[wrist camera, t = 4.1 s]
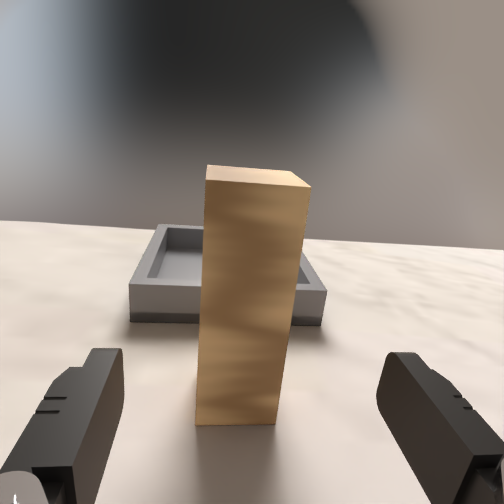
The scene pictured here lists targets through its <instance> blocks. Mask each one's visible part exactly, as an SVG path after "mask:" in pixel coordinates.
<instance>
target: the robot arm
mask: <svg viewBox="0 0 504 504" xmlns="http://www.w3.org/2000/svg"><path fill="white" fill-rule="evenodd" d="M376 399H377V405H378V409H379V411H380V413H381V415H382V417H383V419H384V421H385V422H386V424H387V426H388V428H389V429H390V431H391V433H392V435H393V437H394V438H395V440H396V442H397V444H398V445H399V447H400V449H401V451H402V453H403V454H404V456H405V458H406V460H407V461H408V463H409V465H410V467H411V469H412V470H413V472H414V474H415V476H416V477H417V479H418V481H419V483H420V485H421V486H422V488H423V490H424V492H425V493H426V495H427V497H428V499H429V500H430V502H431V504H504V442H503V441H502V439H501V438H500V437H499V436H498V435H497V434H496V433H495V432H494V430H493V429H492V428H491V427H490V426H489V425H488V424H487V423H486V421H485V420H484V419H483V418H482V417H481V416H480V415H479V414H478V413H477V411H476V410H473V408H472V406H471V405H470V404H469V402H468V401H467V400H466V399H465V398H462V395H461V393H460V392H459V391H458V390H457V389H456V388H455V387H454V386H453V384H452V383H451V382H450V381H449V380H447V379H446V378H444V377H443V376H442V375H440V374H439V373H437V372H436V371H434V370H433V369H430V368H429V367H428V366H427V365H426V364H425V362H424V361H423V360H422V359H421V358H420V357H419V355H418V354H416V353H412V352H390V353H389V354H388V355H387V357H386V360H385V363H384V367H383V370H382V374H381V377H380V381H379V385H378V388H377V393H376ZM123 403H124V373H123V353H122V349H121V348H93V349H92V350H91V352H90V353H89V355H88V357H87V359H86V361H85V363H84V365H83V367H69V368H68V369H67V370H66V371H64V372H63V373H62V374H61V375H60V376H58V377H57V378H56V379H55V380H54V381H53V382H52V384H51V386H50V387H49V389H48V391H47V392H46V394H45V396H44V399H43V400H42V401H41V402H40V404H39V406H38V408H37V409H36V412H35V414H33V416H32V418H31V419H30V421H29V423H28V424H27V426H26V428H25V429H24V431H23V433H22V434H21V436H20V438H19V439H18V441H17V443H16V444H15V446H14V448H13V449H12V451H11V453H10V454H9V456H8V458H7V460H6V461H5V463H4V465H3V466H2V468H1V470H0V504H94V503H95V500H96V497H97V493H98V490H99V487H100V483H101V480H102V477H103V474H104V470H105V467H106V464H107V460H108V457H109V454H110V450H111V447H112V444H113V441H114V437H115V434H116V431H117V427H118V424H119V421H120V417H121V414H122V409H123Z"/></svg>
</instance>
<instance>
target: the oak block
mask: <svg viewBox="0 0 504 504" xmlns="http://www.w3.org/2000/svg"><path fill="white" fill-rule="evenodd" d="M310 193H311V187H310V186H309V185H308V184H306V183H305V182H304V181H302V180H301V179H300V178H298V177H297V176H296V175H294V174H293V173H292V172H290V171H279V170H266V169H253V168H241V167H227V166H216V165H208V166H207V174H206V186H205V209H204V231H203V254H202V278H201V301H200V324H199V347H198V371H197V394H196V417H195V426H199V425H265V424H276V417H277V410H278V404H279V397H280V391H281V384H282V378H283V371H284V364H285V358H286V351H287V345H288V338H289V331H290V325H291V318H292V312H293V305H294V298H295V292H296V285H297V279H298V272H299V266H300V259H301V252H302V246H303V239H304V232H305V226H306V219H307V212H308V206H309V200H310Z"/></svg>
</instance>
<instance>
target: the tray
mask: <svg viewBox="0 0 504 504" xmlns="http://www.w3.org/2000/svg"><path fill="white" fill-rule="evenodd" d="M203 231H204V226H186V225H169V224H168V225H166V224H159V225H158V227H157V229H156V231H155V233H154V235H153V237H152V239H151V241H150V243H149V245H148V247H147V249H146V250H145V252H144V254H143V256H142V258H141V260H140V262H139V264H138V266H137V268H136V270H135V272H134V274H133V276H132V278H131V280H130V282H129V303H130V322H165V323H200V301H201V278H202V254H203ZM326 295H327V289H326V288H325V286H324V285H323V283H322V282H321V280H320V279H319V277H318V275H317V274H316V272H315V271H314V269H313V268H312V266H311V265H310V263H309V261H308V260H307V258H306V257H305V255H304V254H303V252H301V259H300V266H299V272H298V279H297V285H296V292H295V298H294V305H293V312H292V318H291V325H306V326H321V322H322V316H323V311H324V306H325V300H326Z"/></svg>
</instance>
